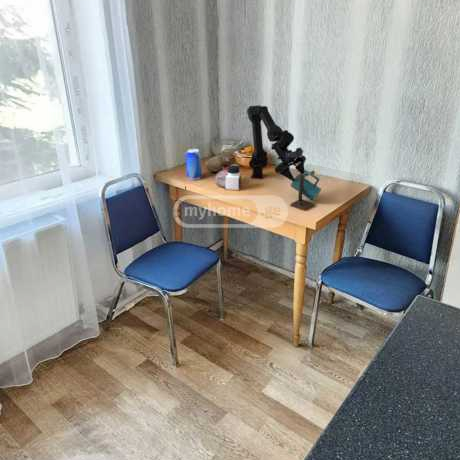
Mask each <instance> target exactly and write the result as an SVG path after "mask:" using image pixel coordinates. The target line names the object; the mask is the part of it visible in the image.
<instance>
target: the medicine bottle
mask: <svg viewBox="0 0 460 460" xmlns="http://www.w3.org/2000/svg"><path fill="white" fill-rule="evenodd" d="M227 167H228V175H227V176H226V188H225V190H232V191H240V189H241V186H242V173H241V172H240V166H239V165H237V164H229V165H227Z"/></svg>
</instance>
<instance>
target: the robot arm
mask: <svg viewBox="0 0 460 460" xmlns="http://www.w3.org/2000/svg"><path fill="white" fill-rule="evenodd" d="M246 114H247V117H248V120H249V121H250V123H251V128H252V129H251V131H252V139H253V151H252V154H251V159H250V160H249V161H248V165H249V167H250V168H252V174H251V177H250V178H251V179H261V180H262V179H264V172H263V170H264V167H267V165H268V160H269V159H268V152H267V151H266V150H265V149H264V145H263V144H264V143H263V133H262V123H263V125H264V127H265V128H266V130H267V131H266V136H267V140H269V142H273V143H272V144H271V148H270V149H271V150H272V151H273V150H274V152H275V153H276V154H277V156H278V157H277V160H280V161H281V162H280V163H279V164H277V166H275V167H274V171H275V173H276V174H279V175H281V176H283V177H285V178H286V179H289V181H291V182H293V181H295V177H294V176H293V174H292V172H291V169H290V167H292V166H293V167H294V169H295V170H296V171H298V173H299V174H303V173H304V172H305V170H306V169H305V163H306V160H307V158H306V156H305V155H304V150H303V149H302V147H297V148H295V151H294V150H291V149H289V146H290V145H291V144H292V143H293V142H294V140H295V137H294V135H293V134H292V133H291V132H289V130H287V129H285V130H284V129H282V127H281V126H279V125H277V124H276V122H275V121H274V118H273V117H272V115H271V114H270V110H269V107H268V105H267V106H266V105H261V104H259V105H249V106H248V108H247V109H246Z"/></svg>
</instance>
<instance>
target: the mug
mask: <svg viewBox="0 0 460 460" xmlns="http://www.w3.org/2000/svg"><path fill="white" fill-rule="evenodd" d="M310 172H311V171H308V170H307V169H305V172H304V173H303V174H306V173H308V174H309V175H308V176H311V177H312V178H314V179H315V180H316V181H314V182H315V183H314V182H313V181H311V180H309V179H308V178H307V177H304V180H303V193H302V196H304V197H306V198H307V199H309V200H310V201H311V202H314V201H315V200H316V198H318V196H319V195H320V193H321V192H322V188H321V187H320V186H319V185H318V184H319V182H320V180H321V179H320V177H317V175H315V174H311V173H310ZM300 174H301V173H298V174H297V175H296V176H295V177H294V179H295V181H291V184H290V187H291V188H292V189H294V190H295V191H297V192H298V193H299V182H300Z"/></svg>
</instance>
